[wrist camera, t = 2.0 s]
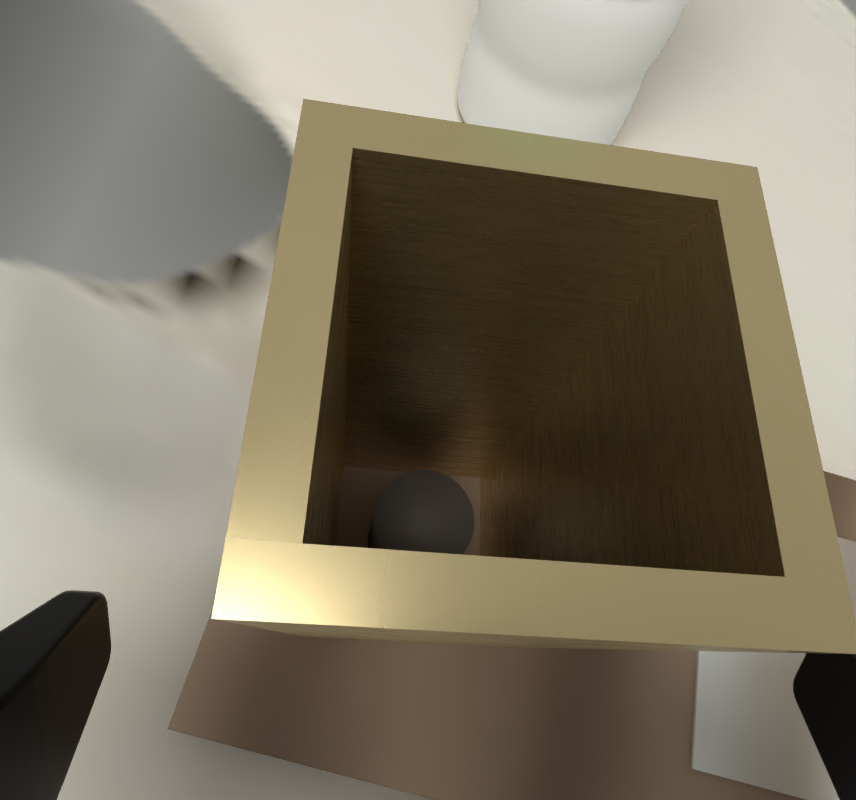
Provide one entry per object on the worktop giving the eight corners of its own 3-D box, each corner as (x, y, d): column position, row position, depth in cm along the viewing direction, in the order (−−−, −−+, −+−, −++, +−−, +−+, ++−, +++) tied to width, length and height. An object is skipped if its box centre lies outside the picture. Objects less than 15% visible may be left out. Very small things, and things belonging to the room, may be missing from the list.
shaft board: (921, 510, 21) (1056, 479, 17) (963, 933, 16) (1164, 1026, 12) (320, 337, 20) (315, 262, 16) (175, 724, 15) (120, 752, 11)
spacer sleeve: (499, 646, 16) (862, 654, 5) (302, 636, 16) (210, 619, 4) (499, 460, 19) (757, 166, 7) (325, 445, 18) (303, 98, 7)
